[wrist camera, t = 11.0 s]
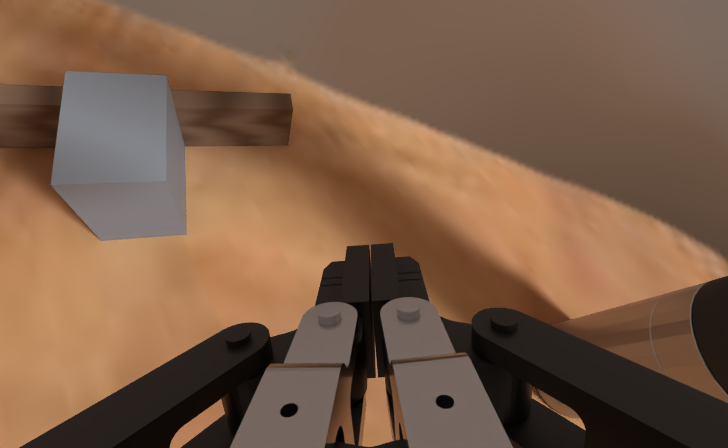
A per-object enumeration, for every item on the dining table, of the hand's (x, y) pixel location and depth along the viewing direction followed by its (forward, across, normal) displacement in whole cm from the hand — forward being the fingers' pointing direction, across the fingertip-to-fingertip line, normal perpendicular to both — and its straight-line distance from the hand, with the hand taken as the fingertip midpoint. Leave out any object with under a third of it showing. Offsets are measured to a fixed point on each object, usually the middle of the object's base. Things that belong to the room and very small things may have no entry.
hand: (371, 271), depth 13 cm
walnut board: (+29, +22, -2) cm, 37 cm away
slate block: (+25, +22, +2) cm, 33 cm away
